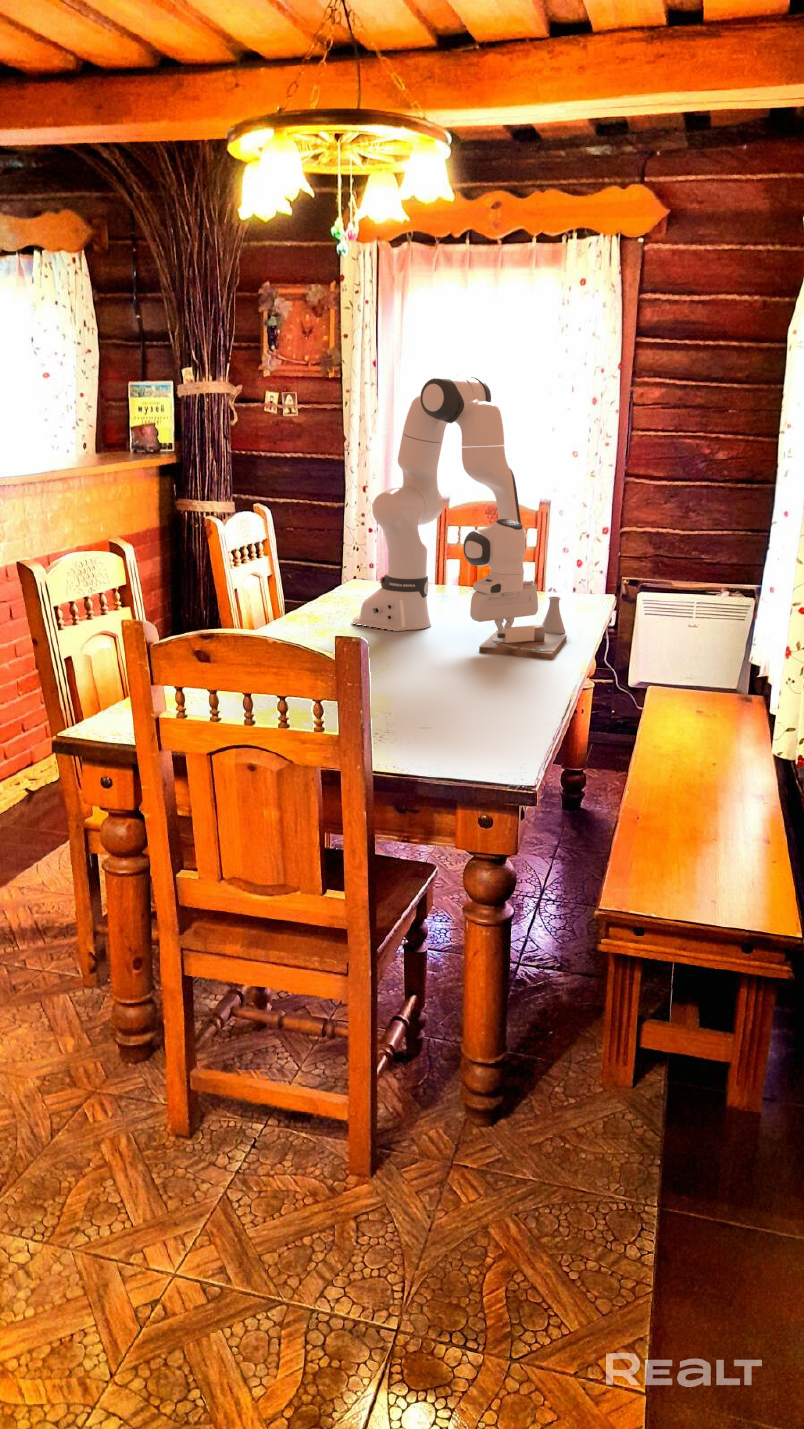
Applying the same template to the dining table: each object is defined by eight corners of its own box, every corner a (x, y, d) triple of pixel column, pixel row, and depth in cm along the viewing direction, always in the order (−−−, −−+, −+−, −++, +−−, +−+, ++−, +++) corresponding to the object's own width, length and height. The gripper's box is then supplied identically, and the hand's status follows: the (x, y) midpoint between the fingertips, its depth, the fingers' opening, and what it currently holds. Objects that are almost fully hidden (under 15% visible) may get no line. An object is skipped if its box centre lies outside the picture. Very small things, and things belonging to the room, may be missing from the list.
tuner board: (479, 652, 270) (479, 645, 269) (498, 634, 290) (498, 628, 289) (552, 659, 264) (553, 653, 264) (567, 640, 284) (568, 634, 284)
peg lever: (539, 637, 280) (540, 624, 279) (547, 640, 276) (547, 627, 275) (494, 640, 275) (495, 627, 274) (501, 644, 271) (502, 630, 270)
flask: (564, 635, 290) (567, 600, 287) (538, 634, 291) (540, 599, 288) (565, 630, 297) (568, 595, 294) (540, 628, 298) (542, 594, 295)
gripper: (529, 577, 280) (526, 628, 284) (468, 584, 269) (465, 636, 273) (544, 581, 274) (541, 632, 279) (482, 588, 264) (480, 641, 268)
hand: (503, 634), depth 276 cm, fingers closed
